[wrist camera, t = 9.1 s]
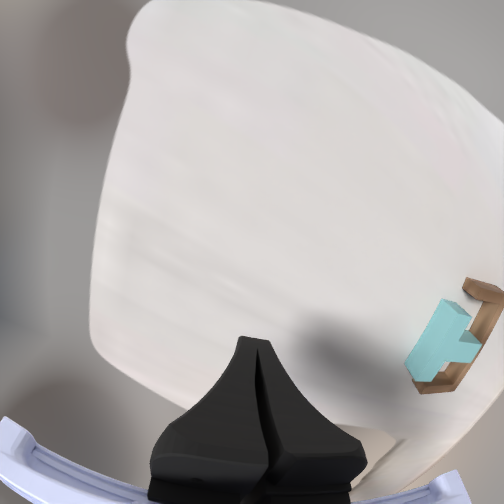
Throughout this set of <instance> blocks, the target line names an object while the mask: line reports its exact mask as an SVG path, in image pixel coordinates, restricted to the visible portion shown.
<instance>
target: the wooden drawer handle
mask: <svg viewBox="0 0 504 504" xmlns="http://www.w3.org/2000/svg"><path fill="white" fill-rule="evenodd" d="M462 288H463V289H464V290H465V291H466V292H468V293H469V294H470V295H471V296H473V297H474V298H475V299H477V300H482V301H484V302H483V304H482V306H481V308H480V310H479V312H478V314H477V316H476V318H475V320H474V322H473V324H472V326H471V328H470V330H469V331H470V332H471V333H472V334H473V335H474V336H475V337H476V338H477V340H478V341H479V342H480V343H481V344H482V346H481V348H480V349H479V351H478V352H477V354H476V356H475V357H474V359H473V360H472V362H471V363H461V362H450V364H449V366H448V367H447V369H446V370H445V372H438V373H437V374H436V376H435V377H434V378H433V380H432V381H431V382H422V381H415V380H414V378H413V379H412V381H413V383H414V385H415V386H416V388H417V390H418V391H419V393H420V394H432V393H442V392H451V391H454V390H455V389H456V388H457V386H458V385H459V383H460V382H461V381H462V379H463V378H464V376H465V375H466V373H467V372H468V370H469V369H470V367H471V366H472V364H473V363H474V361H475V359H476V358H477V356H478V355H479V353H480V351H481V350H482V348H483V346H484V344H485V343H486V341H487V339H488V337H489V336H490V334H491V332H492V330H493V328H494V326H495V324H496V322H497V320H498V318H499V316H500V314H501V312H502V310H503V308H504V291H503V290H501V289H500V288H498V287H497V286H495V285H492V284H488V283H485V282H481V281H478V280H475V279H471V278H468V277H467V278H466V280H465V282H464V285H463V287H462Z"/></svg>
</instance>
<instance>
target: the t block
mask: <svg viewBox="0 0 504 504" xmlns="http://www.w3.org/2000/svg"><path fill="white" fill-rule="evenodd" d="M471 318H472V317H471V316H470V315H469V314H468V313H467V312H466V311H465V310H464V309H463V308H461V307H460V306H459V305H458V304H457V303H455V302H452V301H448V300H445V299H441V301H440V303H439V305H438V307H437V309H436V310H435V312H434V314H433V316H432V318H431V320H430V321H429V323H428V325H427V327H426V329H425V330H424V332H423V334H422V335H421V337H420V339H419V341H418V342H417V344H416V345H415V347H414V349H413V350H412V352H411V353H410V355H409V357H408V358H407V360H406V361H405V363H404V364H405V365H406V367H407V369H408V370H409V372H410V373H411V375H412V377H413V378H414V380H415V381H422V382H431V381H432V380H433V378H434V377H435V376H436V374H437V373H438V371H439V370H440V368H441V367H442V366H443V364H444V363H445V361H446V362H461V363H471V362H472V360H473V359H474V357H475V356H476V354H477V352H478V351H479V349H480V348H481V346H482V344H481V343H480V342H479V341H478V340H477V338H476V337H475V336H474V335H473V334H472V333H471V332H470V331H468V330H465V329H466V327H467V325H468V324H469V322H470V320H471Z"/></svg>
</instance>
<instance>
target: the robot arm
mask: <svg viewBox="0 0 504 504" xmlns="http://www.w3.org/2000/svg"><path fill="white" fill-rule="evenodd" d="M367 463H368V462H367V459H366V456H365V452H364V449H363V447H362V444H361V442H360V441H359V440H357V439H356V438H354V437H352V436H351V435H349V434H347V433H346V432H344V431H343V430H341V429H340V428H338V427H337V426H335V425H334V424H333V423H332V422H330V421H329V420H328V419H327V418H325V417H324V416H323V415H322V414H321V413H320V412H319V411H318V410H316V409H315V408H314V407H313V406H312V405H311V404H310V403H309V402H308V400H307V399H306V398H305V397H304V396H303V395H302V394H301V392H300V391H299V390H298V389H297V387H296V386H295V384H294V383H293V382H292V380H291V379H290V377H289V376H288V374H287V372H286V371H285V369H284V367H283V366H282V364H281V362H280V361H279V359H278V357H277V355H276V353H275V351H274V349H273V347H272V345H271V343H270V342H269V340H263V339H257V338H251V337H246V336H240V337H239V338H238V342H237V346H236V350H235V353H234V355H233V357H232V359H231V361H230V363H229V365H228V366H227V368H226V369H225V371H224V373H223V374H222V376H221V377H220V378H219V380H218V381H217V382H216V384H215V385H214V386H213V387H212V388H211V389H210V391H209V392H208V393H207V394H206V395H205V396H204V397H203V398H202V399H201V400H200V401H199V402H198V403H197V404H195V405H194V406H193V407H192V408H191V409H190V410H188V411H187V412H186V413H185V414H183V415H182V416H180V417H179V418H177V419H176V420H175V421H173V422H172V423H170V424H169V425H168V426H167V428H166V429H165V430H164V432H163V433H162V434H161V436H160V437H159V439H158V441H157V442H156V444H155V446H154V448H153V451H152V455H151V459H150V469H151V476H152V477H151V481H150V485H149V489H148V490H147V489H144V488H140V487H137V486H133V485H130V484H127V483H124V482H121V481H118V480H115V479H113V478H110V477H107V476H105V475H102V474H99V473H97V472H95V471H92V470H90V469H87V468H85V467H83V466H80V465H78V464H76V463H74V462H72V461H70V460H67V459H66V458H64V457H62V456H60V455H58V454H56V453H54V452H52V451H50V450H48V449H46V448H45V447H43V446H41V445H39V444H38V443H36V441H35V439H34V437H33V436H32V435H31V434H30V433H29V432H28V431H27V430H26V429H25V428H23V427H21V426H20V425H18V424H17V423H15V422H13V421H12V420H11V419H9V418H8V417H4V418H3V419H2V421H1V422H0V480H1V481H2V482H3V483H4V484H6V485H7V486H8V487H10V488H11V489H13V490H14V491H15V492H17V493H18V494H20V495H22V496H23V497H24V498H26V499H27V500H29V501H30V502H32V503H34V504H472V503H471V500H470V498H469V496H468V493H467V491H466V489H465V486H464V484H463V482H462V480H461V478H460V475H459V473H458V471H457V470H456V469H455V470H452V471H449V472H447V473H444V474H441V475H440V476H438V477H436V478H435V479H433V480H432V481H431V482H430V483H429V484H428V485H424V486H421V487H418V488H415V489H411V490H408V491H404V492H400V493H396V494H392V495H388V496H384V497H379V498H374V499H369V500H363V501H358V502H350V497H349V493H348V492H350V491H351V489H352V488H351V484H350V482H351V481H352V480H353V479H354V478H355V477H357V476H358V475H359V474H360V473H361V472H362V471H363V470H364V469H365V467H366V466H367Z"/></svg>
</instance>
